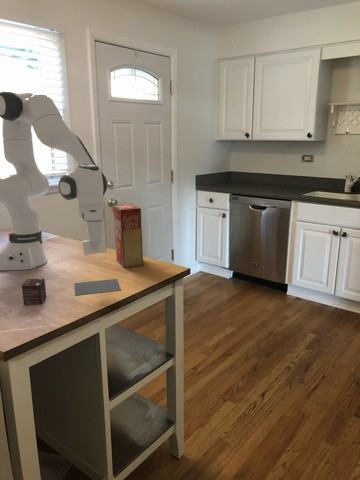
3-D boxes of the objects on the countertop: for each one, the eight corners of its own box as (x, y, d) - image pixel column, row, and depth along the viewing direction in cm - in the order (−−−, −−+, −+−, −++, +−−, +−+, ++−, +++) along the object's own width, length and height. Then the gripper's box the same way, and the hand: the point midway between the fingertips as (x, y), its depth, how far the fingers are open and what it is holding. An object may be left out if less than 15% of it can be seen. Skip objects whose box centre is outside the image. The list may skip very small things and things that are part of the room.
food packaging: (115, 259, 175) (112, 204, 168) (135, 256, 178) (133, 203, 172) (123, 268, 163) (120, 209, 157) (144, 265, 167) (142, 208, 160)
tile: (84, 255, 138) (82, 242, 137) (84, 254, 140) (82, 240, 138) (106, 252, 140) (105, 238, 139) (106, 250, 142) (104, 237, 140)
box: (29, 298, 133) (26, 278, 131) (46, 298, 133) (44, 278, 132) (23, 306, 127) (21, 285, 125) (42, 305, 128) (40, 284, 126)
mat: (75, 296, 135) (75, 295, 135) (74, 284, 146) (74, 283, 146) (121, 291, 139) (121, 290, 139) (117, 279, 150) (116, 278, 150)
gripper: (81, 206, 145) (84, 242, 148) (84, 217, 126) (87, 257, 129) (98, 206, 146) (101, 241, 150) (103, 216, 127) (106, 256, 131)
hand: (94, 249), depth 139 cm, fingers closed on tile, 2 cm apart
